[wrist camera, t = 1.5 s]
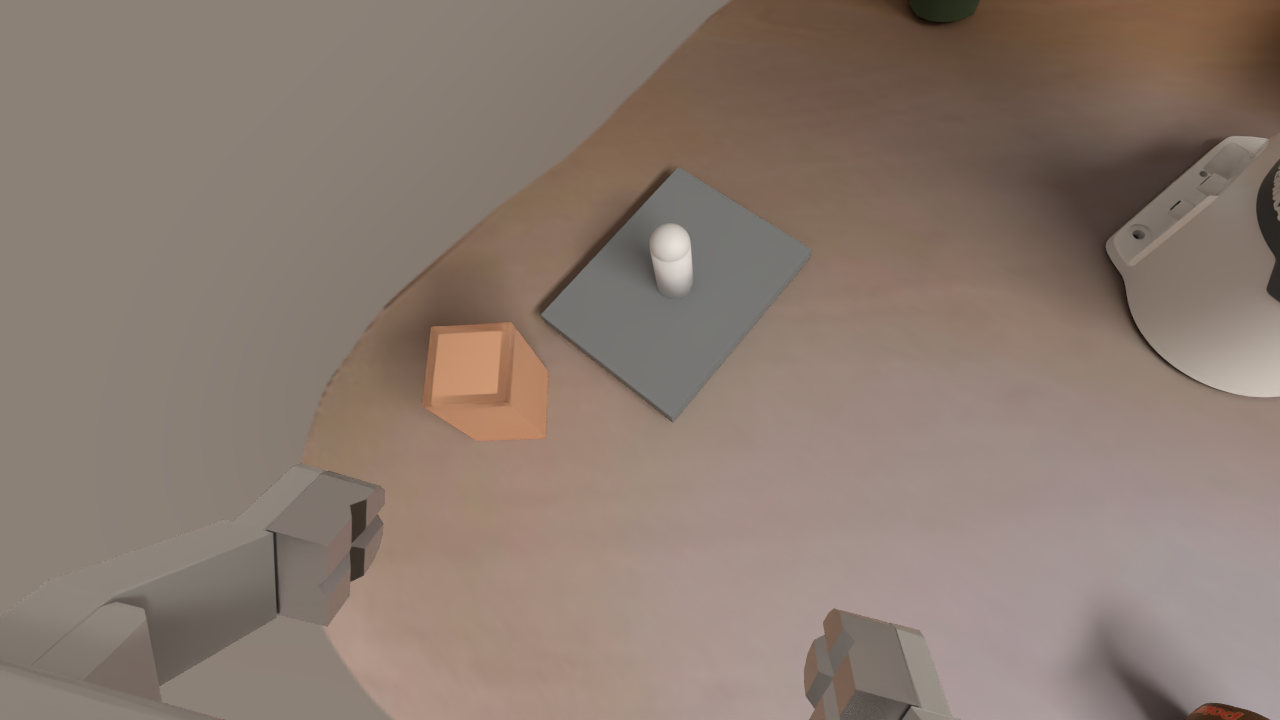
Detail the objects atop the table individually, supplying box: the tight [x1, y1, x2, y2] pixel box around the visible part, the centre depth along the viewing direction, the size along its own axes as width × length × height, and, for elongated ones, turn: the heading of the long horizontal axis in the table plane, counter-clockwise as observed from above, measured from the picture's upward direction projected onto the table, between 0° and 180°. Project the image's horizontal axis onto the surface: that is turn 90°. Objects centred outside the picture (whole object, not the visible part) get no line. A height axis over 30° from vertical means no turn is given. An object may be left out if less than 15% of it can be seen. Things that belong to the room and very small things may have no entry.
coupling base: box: [541, 167, 812, 422], centre depth 48 cm, size 18×14×9 cm
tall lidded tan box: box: [422, 322, 548, 441], centre depth 46 cm, size 6×6×10 cm
